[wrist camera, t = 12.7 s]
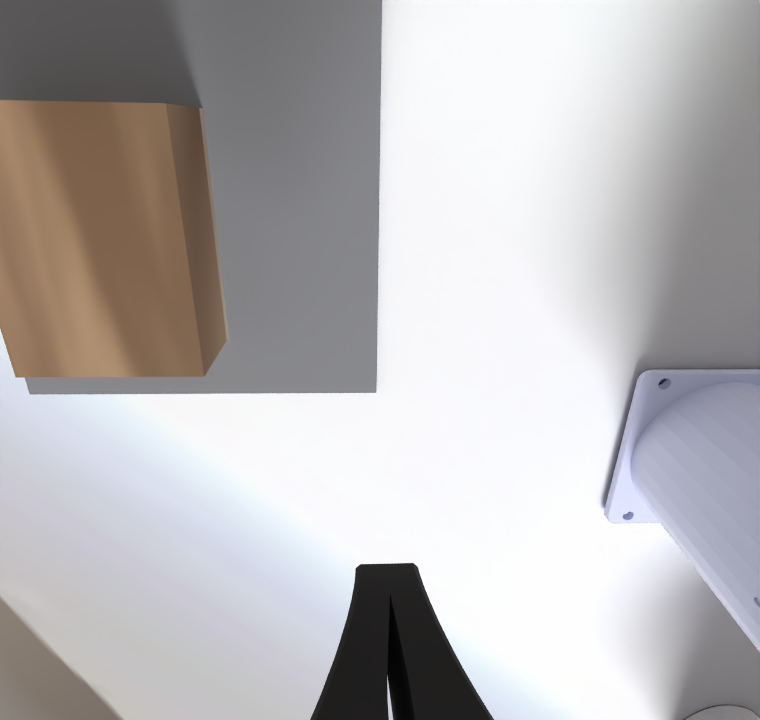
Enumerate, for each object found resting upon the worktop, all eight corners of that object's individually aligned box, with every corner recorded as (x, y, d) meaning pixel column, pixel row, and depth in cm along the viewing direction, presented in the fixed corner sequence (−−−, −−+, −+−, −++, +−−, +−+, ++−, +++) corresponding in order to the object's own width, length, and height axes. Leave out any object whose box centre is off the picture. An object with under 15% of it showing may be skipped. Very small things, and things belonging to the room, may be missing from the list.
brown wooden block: (165, 103, 13) (-72, 98, 13) (204, 376, 17) (15, 377, 16) (202, 108, 16) (12, 104, 16) (229, 337, 20) (71, 336, 20)
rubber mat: (381, -16, 16) (382, -18, 15) (375, 389, 21) (376, 392, 21) (-93, -30, 15) (-101, -33, 15) (34, 391, 21) (29, 394, 20)
